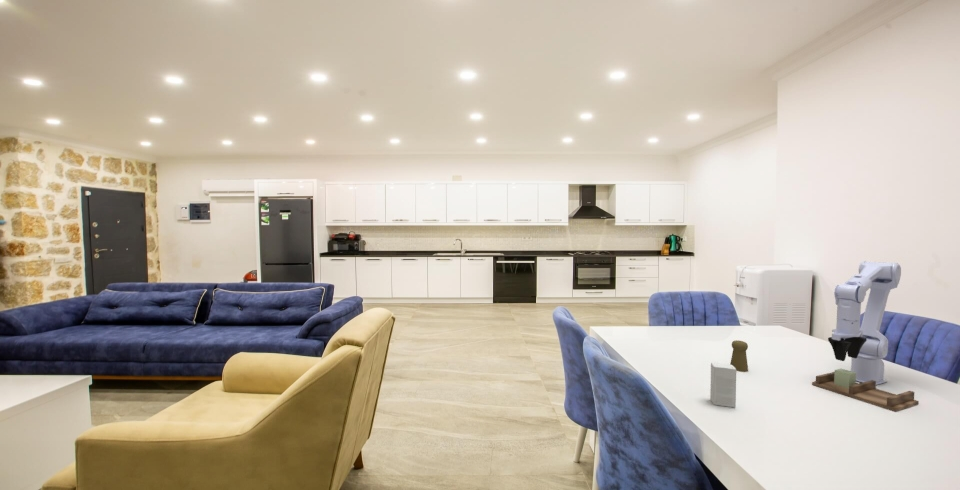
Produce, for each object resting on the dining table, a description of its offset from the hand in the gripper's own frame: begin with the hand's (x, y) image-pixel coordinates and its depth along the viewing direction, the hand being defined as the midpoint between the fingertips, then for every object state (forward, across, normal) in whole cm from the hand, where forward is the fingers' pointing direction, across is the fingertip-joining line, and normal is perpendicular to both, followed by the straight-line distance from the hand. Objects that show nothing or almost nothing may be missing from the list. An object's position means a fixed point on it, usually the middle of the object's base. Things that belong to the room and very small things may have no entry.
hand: (846, 358), depth 129 cm
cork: (+11, +16, -26) cm, 32 cm away
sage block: (+9, 0, 0) cm, 9 cm away
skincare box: (+11, +51, -8) cm, 53 cm away
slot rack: (+10, 0, +5) cm, 11 cm away
